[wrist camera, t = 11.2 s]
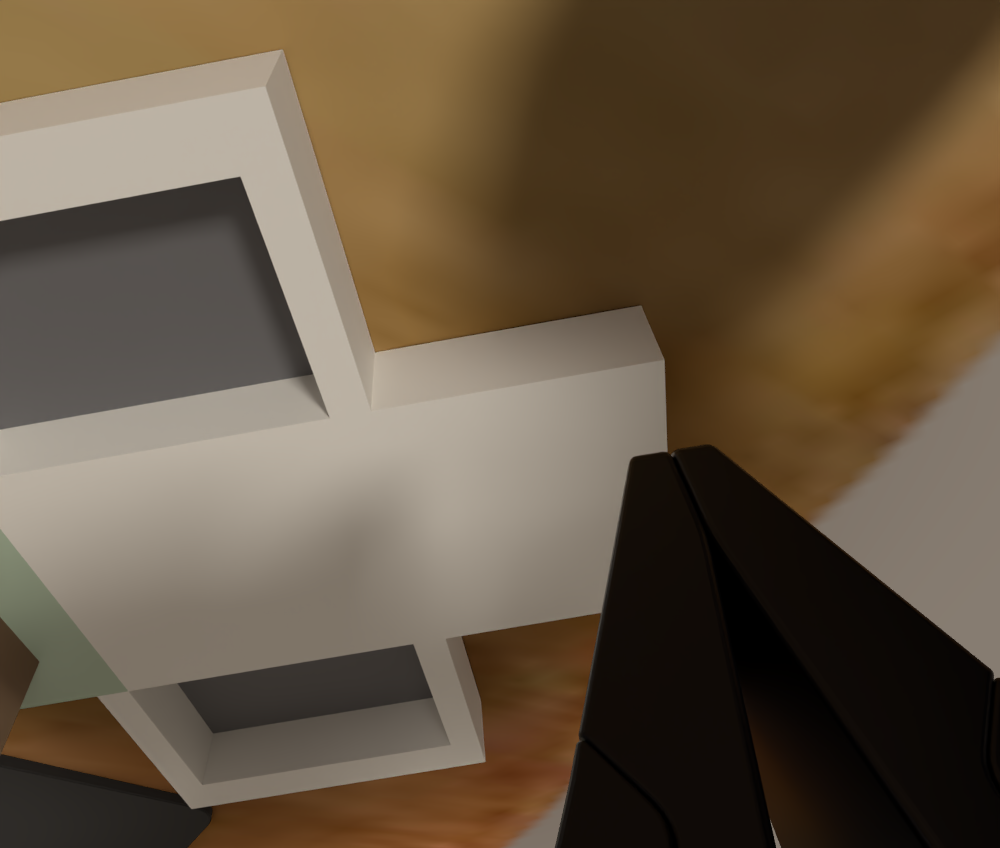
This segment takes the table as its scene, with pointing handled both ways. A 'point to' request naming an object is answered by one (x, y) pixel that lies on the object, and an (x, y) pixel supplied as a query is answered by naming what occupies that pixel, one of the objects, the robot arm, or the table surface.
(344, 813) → the table surface
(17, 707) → the walnut block
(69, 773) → the phone
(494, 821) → the table surface
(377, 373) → the box
